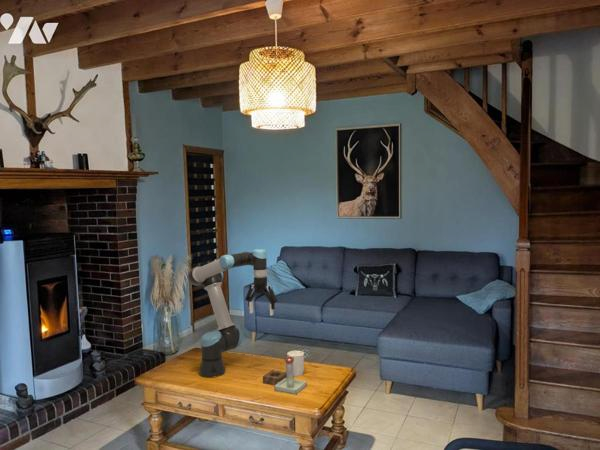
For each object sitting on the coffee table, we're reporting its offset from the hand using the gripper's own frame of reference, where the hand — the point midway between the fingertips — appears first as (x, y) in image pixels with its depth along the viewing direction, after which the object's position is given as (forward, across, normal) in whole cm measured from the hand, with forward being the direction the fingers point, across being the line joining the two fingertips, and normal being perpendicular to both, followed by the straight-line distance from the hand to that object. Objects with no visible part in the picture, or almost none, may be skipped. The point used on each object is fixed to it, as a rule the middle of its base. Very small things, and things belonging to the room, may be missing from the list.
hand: (261, 314), depth 260 cm
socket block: (+37, +9, -2) cm, 38 cm away
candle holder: (+37, +14, +13) cm, 42 cm away
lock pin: (+36, +22, -7) cm, 42 cm away
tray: (+37, +22, -7) cm, 43 cm away
